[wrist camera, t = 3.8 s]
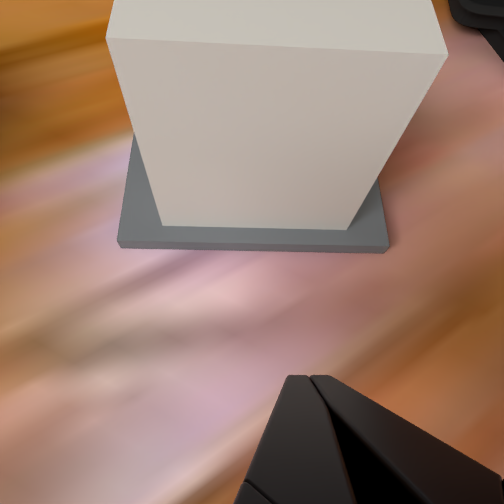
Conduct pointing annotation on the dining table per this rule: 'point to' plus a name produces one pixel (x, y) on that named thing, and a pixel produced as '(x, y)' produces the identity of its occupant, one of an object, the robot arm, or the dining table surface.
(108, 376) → the dining table surface
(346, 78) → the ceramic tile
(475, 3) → the tray
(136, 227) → the slate board
